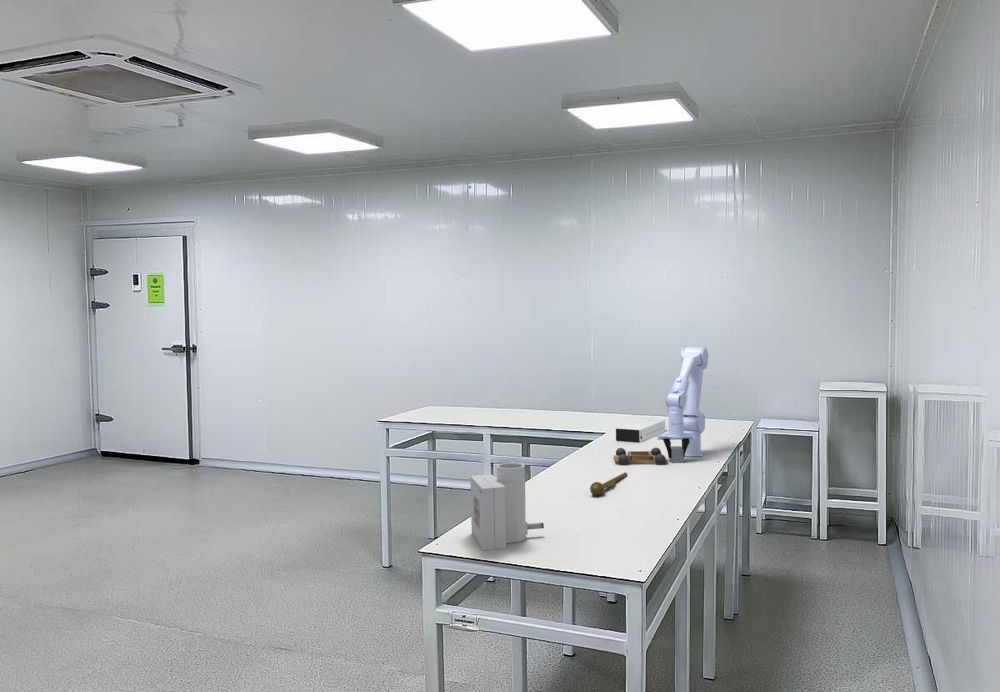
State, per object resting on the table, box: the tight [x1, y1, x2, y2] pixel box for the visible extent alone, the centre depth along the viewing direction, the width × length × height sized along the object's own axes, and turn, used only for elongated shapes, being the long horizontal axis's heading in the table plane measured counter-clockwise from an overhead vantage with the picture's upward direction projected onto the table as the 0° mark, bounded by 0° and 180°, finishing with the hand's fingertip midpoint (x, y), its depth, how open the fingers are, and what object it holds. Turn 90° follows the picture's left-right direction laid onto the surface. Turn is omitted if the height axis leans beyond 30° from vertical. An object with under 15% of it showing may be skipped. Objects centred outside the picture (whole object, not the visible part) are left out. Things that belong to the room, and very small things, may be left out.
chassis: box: [613, 447, 669, 466], centre depth 323 cm, size 15×20×4 cm
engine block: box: [669, 445, 684, 464], centre depth 321 cm, size 6×4×6 cm
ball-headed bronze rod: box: [589, 471, 628, 497], centre depth 281 cm, size 5×35×5 cm
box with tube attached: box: [469, 462, 545, 551], centre depth 221 cm, size 16×19×20 cm
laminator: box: [615, 417, 666, 443], centre depth 381 cm, size 34×12×6 cm, turn 149°
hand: (676, 457), depth 321 cm, fingers closed on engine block, 4 cm apart
